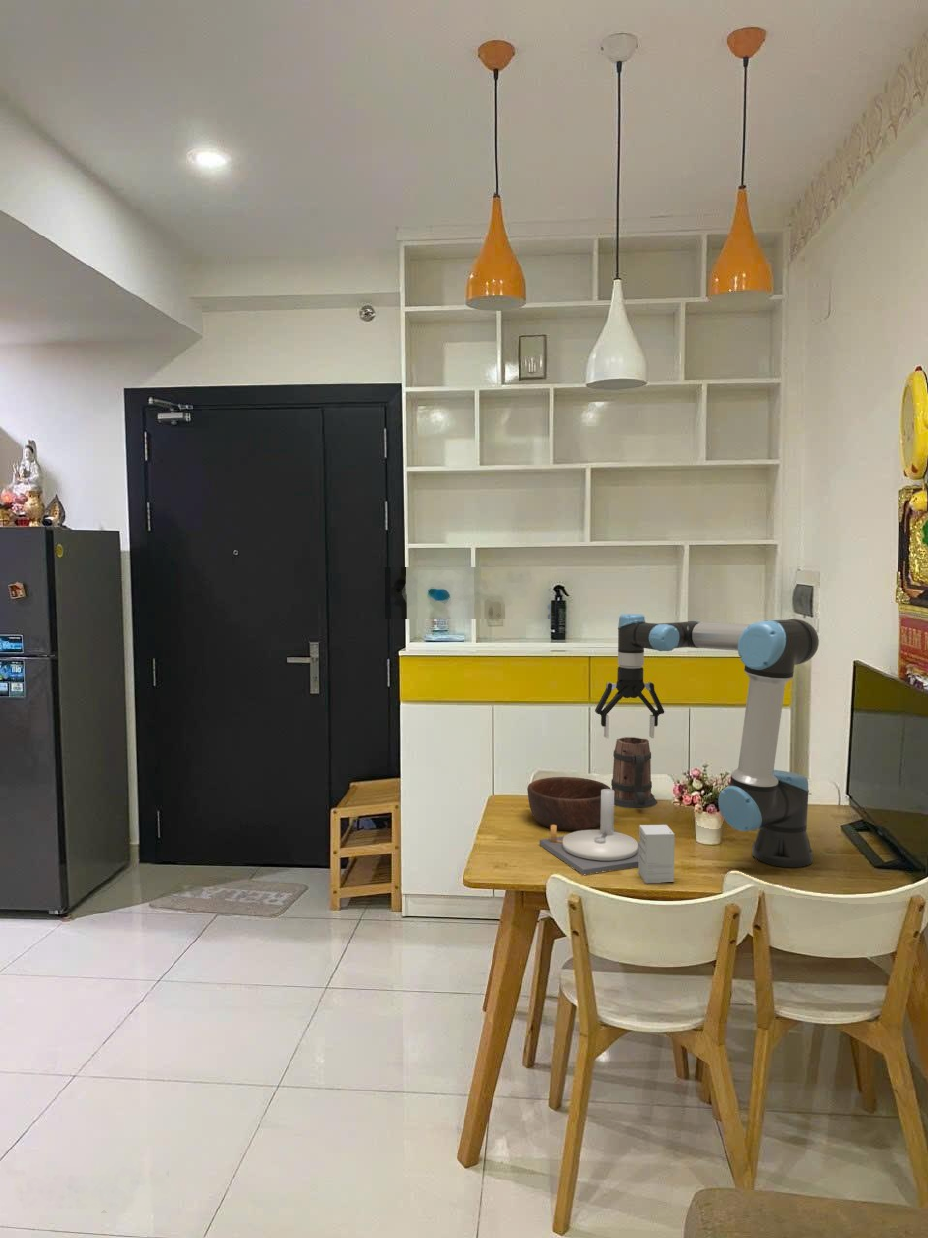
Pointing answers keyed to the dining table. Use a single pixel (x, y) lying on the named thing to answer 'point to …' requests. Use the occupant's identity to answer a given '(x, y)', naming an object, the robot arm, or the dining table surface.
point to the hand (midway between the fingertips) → (629, 737)
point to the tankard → (632, 774)
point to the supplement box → (656, 853)
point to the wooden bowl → (566, 802)
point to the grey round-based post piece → (601, 837)
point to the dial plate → (582, 864)
